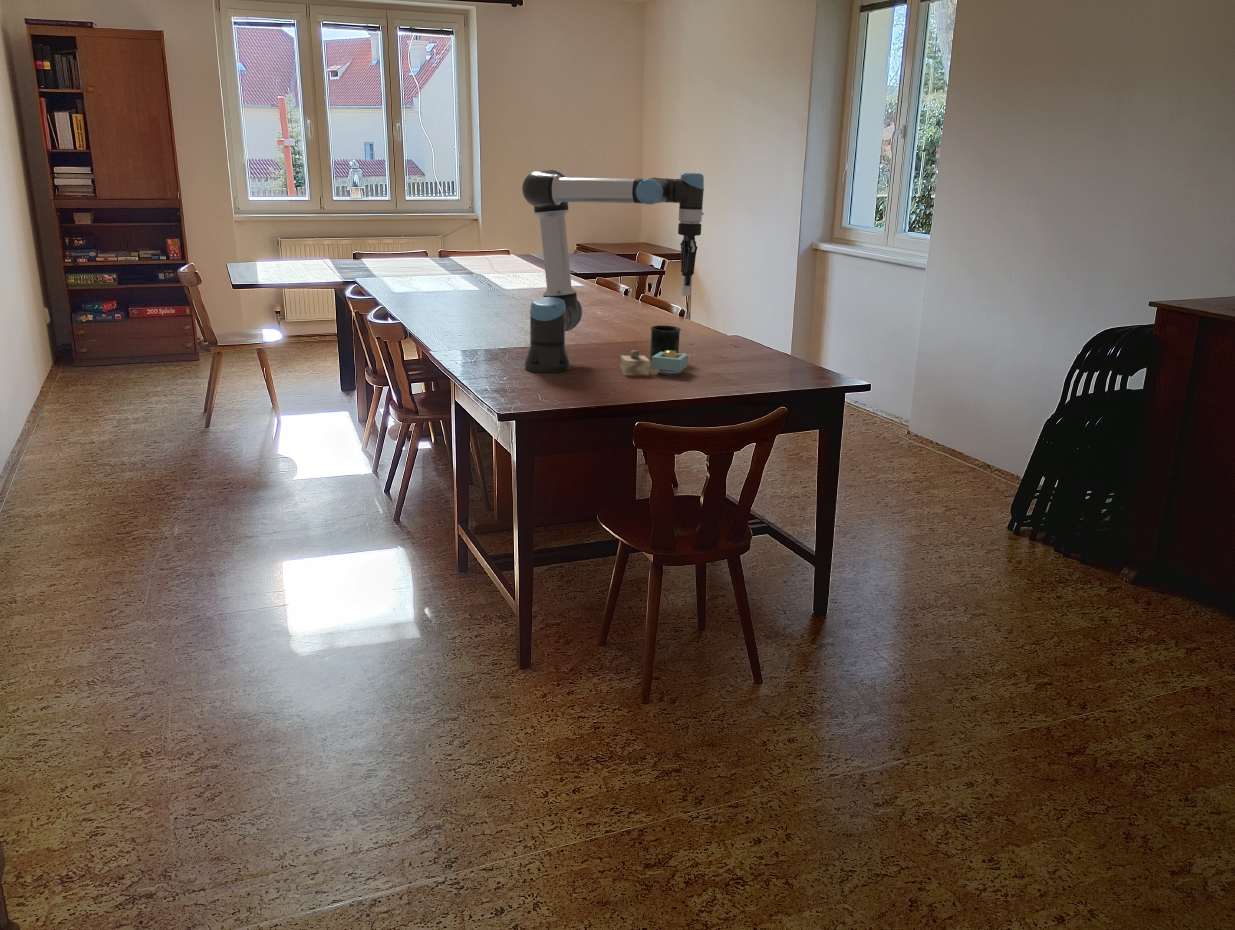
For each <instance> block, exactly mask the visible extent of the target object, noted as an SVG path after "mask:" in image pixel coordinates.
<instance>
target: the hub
mask: <svg viewBox="0 0 1235 930" xmlns="http://www.w3.org/2000/svg"><path fill="white" fill-rule="evenodd" d="M664 357H668V358H676V351H674V350H666V351H665V355H664ZM657 373H658V374H659V375H661V376H667V377H668V376H671V377H672V376H674V377H675V376H680V375H682V370H681V371H680V372H678V371H669V370H660V369H657Z"/></svg>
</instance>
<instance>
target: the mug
mask: <svg viewBox="0 0 1235 930" xmlns="http://www.w3.org/2000/svg"><path fill="white" fill-rule="evenodd" d="M650 330H651V331H650V332H651V333H650V334H651V335H650V354H649V355H650V356H649V357H650V358H649V360H650V362H651V361H652V356H654V355H656V354H657V353H659V352H665V351H666V350H674V351H676V353H678V354H679V348H680V347H679V346H680V331H682V329H681V327H679V326H674V325H666V324H665V325H653V326H650Z"/></svg>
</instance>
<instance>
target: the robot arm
mask: <svg viewBox="0 0 1235 930" xmlns="http://www.w3.org/2000/svg"><path fill="white" fill-rule="evenodd" d="M704 178H705V177H704V175H703V174H702V173H696V172H682V173H681V174H680V177H679V178H664V177H663V178H662V177H661V178H660V177H647V178H625V177H624V178H621V177H619V178H617V177H616V178H615V177H614V178H611V177H608V178H607V177H568V176H566V175H565V174H564V173H562V172H560V171H557V170H554V169H548V170H534V171H531V172H530V173H528V174H527V176H525V178H524V179H523V182H522V186H521V187H522V188H521V189H522V194H523V197H524V199H525V201H526V202H527V203H528V204H529V205H532V206H533V211H534V214H535V215H536V216H537V217H538V218H539V224H540V225H539V226H540V233H541V234H540V235H541V242H542V243H541V244H542V253H543V255H542V256H543V264H544V271H545V273H544V275H545V283H546V290H545V291H544V292H543V293H542V296H543V297H539V298H535V299H534V300H533V301H532V302H531V303H530V310H529V314H530V315H529V316H530V317H529V318H530V322H529V323H530V324H529V325H530V326H529V327H530V330H529V331H530V337H529V339H530V341H529V342H530V345H529V349H528V352H527V355H526V357H525V358H526V359H525V361H524V369H526V370H527V371H529V372H533V373H543V374H551V373H552V374H554V373H555V374H556V373H564V372H566V371H569V370H570V359H569V356H568V353H567V349H566V347H565V344H566V340H565V339H566V334H565V333H566V332H569V331H571V330H573V329H574V328H576V327H577V326H578V325H579V323H580V321H581V320H582V317H583V308H582V305H581V303H580V301H579V300H578V296H577V293H578V292H577V290H576V289H575V288H573V286H572V278H571V269H570V260H569V258H570V257H569V246H568V236H567V228H566V227H567V225H566V215H567V214H568V212H569V203H594V204H595V203H599V204H600V203H601V204H602V203H604V204H609V203H610V204H640V205H642V204H644V205H655V204H661V203H667V204H668V203H671V204H673V203H674V204H679V207H678V221H679V223H678V226H677V234H678V235H680V236H683V239H682V240H681V242H680V273H681V276H682V277H681V278H682V279H681V280H682V281H681V296H683V297H685V296H686V297H688V296H691V294H692V293H691V291H692V276H694V274H695V264H696V257H697V251H698V246H697V241H696V237H697V236H701V234H702V223H701V222H702V220H703V218H702V217H703V216H704V215H705V214H704V212H703V203H704V190H705V184H704V183H705V182H704V181H705V179H704Z"/></svg>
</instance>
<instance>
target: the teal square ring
mask: <svg viewBox="0 0 1235 930" xmlns="http://www.w3.org/2000/svg"><path fill="white" fill-rule="evenodd" d="M664 355H665V352H659V353H657V354H656V355H654V356H652V361H651V360H650V363H651V365H650V366H651V367H650V368H651V369H652V370H658V369H660V370H669V371H678V372H680V371H681V372H682V371H683V370H684V369H686V368H687V367H688V365H689V354H688V353H687V354H686V353H679V352H678V353H676V358H668V357H664Z"/></svg>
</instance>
